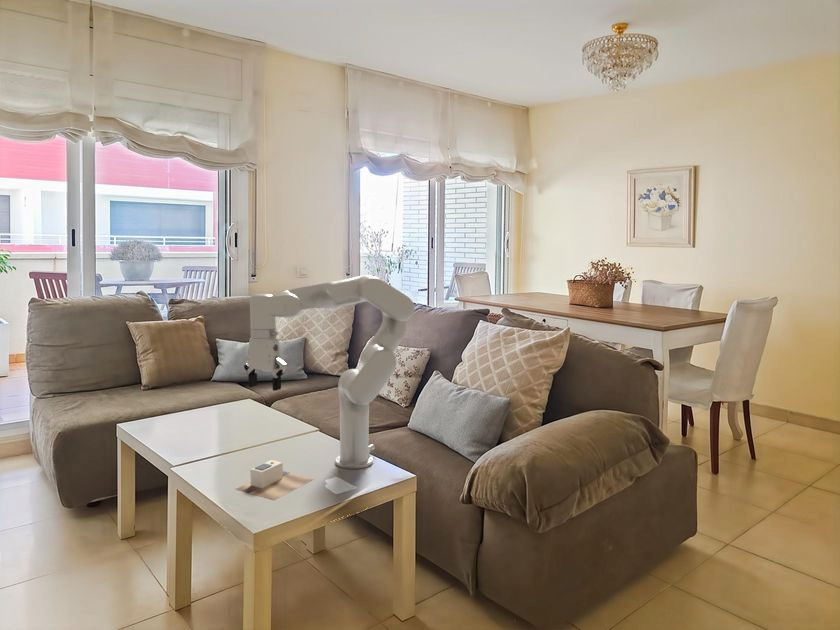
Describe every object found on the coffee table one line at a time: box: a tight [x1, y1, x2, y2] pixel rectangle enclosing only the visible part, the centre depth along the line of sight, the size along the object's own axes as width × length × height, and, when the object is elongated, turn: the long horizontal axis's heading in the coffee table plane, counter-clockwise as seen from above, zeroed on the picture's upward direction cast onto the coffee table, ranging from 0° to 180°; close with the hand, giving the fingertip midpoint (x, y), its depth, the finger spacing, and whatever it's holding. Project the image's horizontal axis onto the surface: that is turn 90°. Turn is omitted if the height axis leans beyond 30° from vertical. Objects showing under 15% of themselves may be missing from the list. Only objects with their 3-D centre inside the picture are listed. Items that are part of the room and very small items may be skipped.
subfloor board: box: [235, 470, 315, 501], centre depth 185 cm, size 18×15×1 cm
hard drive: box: [325, 476, 358, 495], centre depth 185 cm, size 2×8×12 cm
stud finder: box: [249, 459, 284, 488], centre depth 186 cm, size 9×4×5 cm, turn 151°
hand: (264, 387), depth 192 cm, fingers open, 9 cm apart
